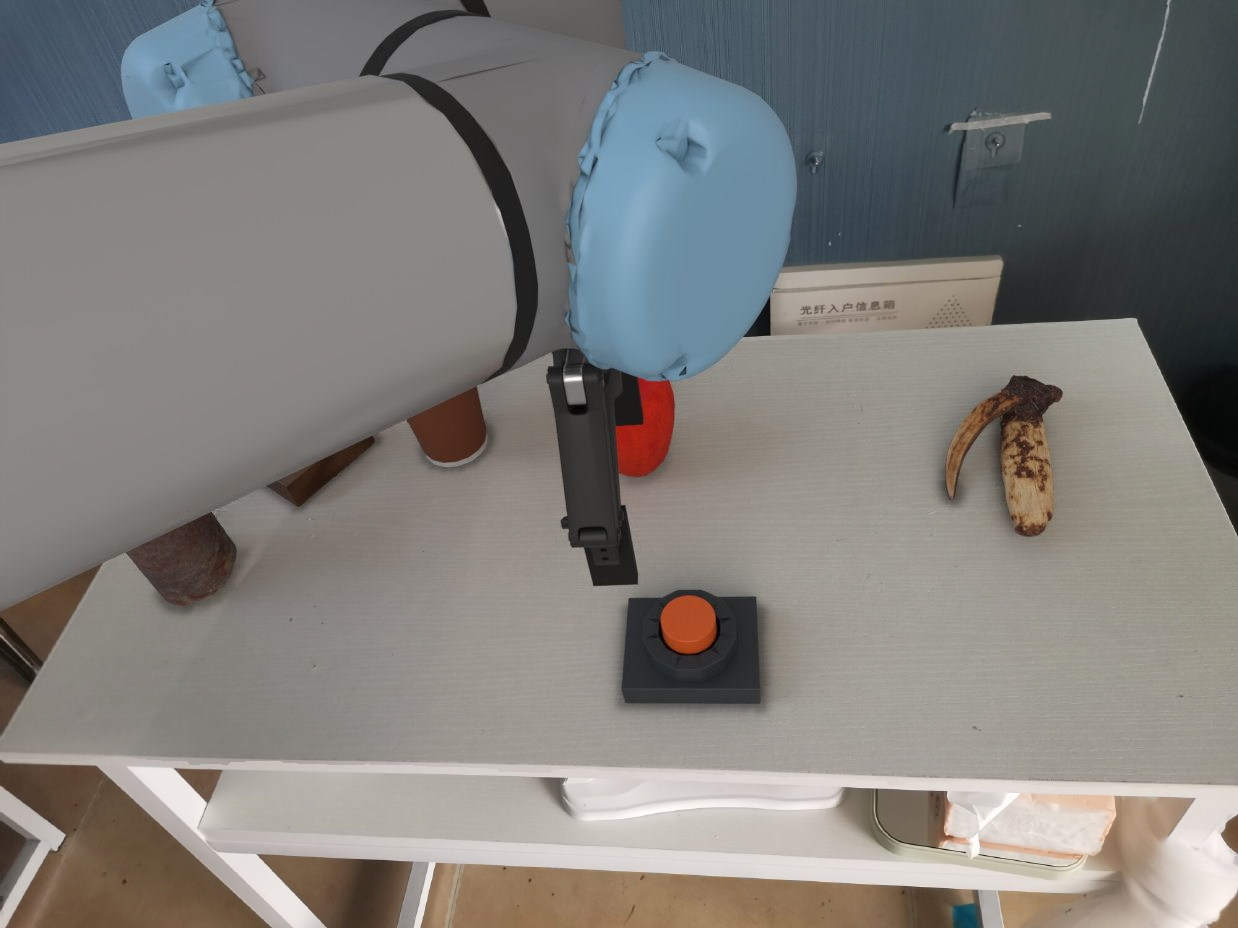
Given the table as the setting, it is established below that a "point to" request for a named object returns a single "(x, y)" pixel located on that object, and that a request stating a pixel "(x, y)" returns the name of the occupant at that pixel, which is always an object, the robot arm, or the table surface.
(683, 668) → the switch block
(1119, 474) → the table surface
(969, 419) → the lashed bone hook
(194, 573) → the weathered brown cylinder
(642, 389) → the apple
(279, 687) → the table surface
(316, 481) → the panel
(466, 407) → the coffee cup
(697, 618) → the light button
